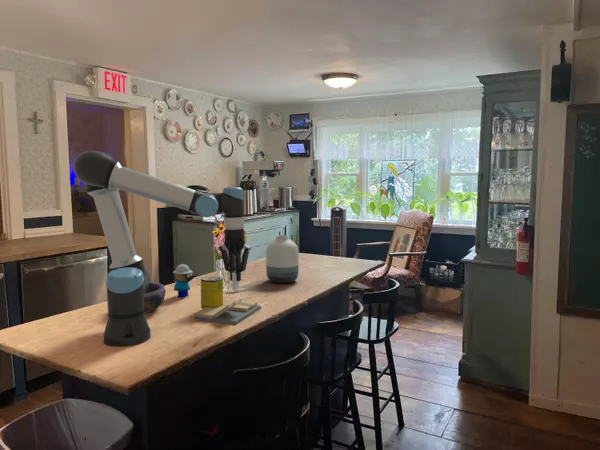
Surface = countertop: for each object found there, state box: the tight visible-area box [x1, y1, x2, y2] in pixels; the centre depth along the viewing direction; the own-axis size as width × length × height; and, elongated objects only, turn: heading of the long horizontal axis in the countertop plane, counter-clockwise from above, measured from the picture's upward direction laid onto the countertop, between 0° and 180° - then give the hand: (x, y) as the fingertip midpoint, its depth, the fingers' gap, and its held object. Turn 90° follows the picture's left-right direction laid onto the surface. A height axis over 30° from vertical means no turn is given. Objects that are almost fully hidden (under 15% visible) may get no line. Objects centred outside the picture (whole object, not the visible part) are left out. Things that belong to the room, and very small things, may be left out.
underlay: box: [194, 298, 262, 325], centre depth 186 cm, size 22×18×2 cm
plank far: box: [229, 300, 258, 311], centre depth 190 cm, size 10×8×1 cm
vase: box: [265, 234, 300, 284], centre depth 241 cm, size 17×17×24 cm
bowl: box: [144, 282, 167, 313], centre depth 190 cm, size 18×18×10 cm
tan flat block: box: [214, 298, 243, 317], centre depth 179 cm, size 10×8×1 cm
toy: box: [172, 263, 194, 299], centre depth 211 cm, size 8×9×15 cm
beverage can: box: [200, 275, 224, 310], centre depth 190 cm, size 9×9×12 cm
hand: (235, 289), depth 177 cm, fingers closed
